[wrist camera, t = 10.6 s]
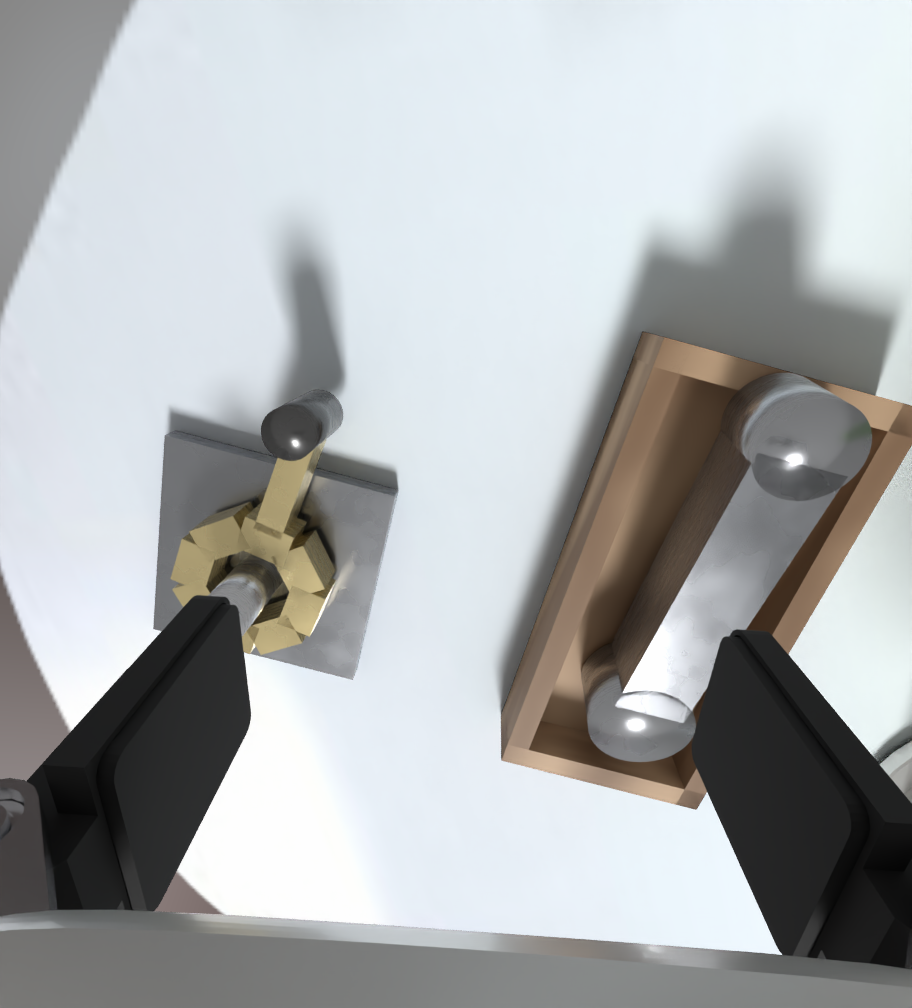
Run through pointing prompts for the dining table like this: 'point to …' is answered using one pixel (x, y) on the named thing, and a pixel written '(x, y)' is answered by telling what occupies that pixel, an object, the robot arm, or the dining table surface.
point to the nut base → (256, 582)
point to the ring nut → (272, 529)
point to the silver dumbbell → (721, 559)
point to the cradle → (637, 539)
